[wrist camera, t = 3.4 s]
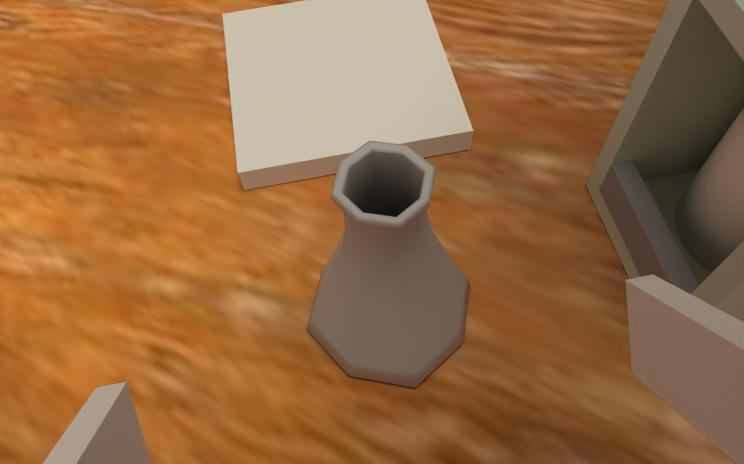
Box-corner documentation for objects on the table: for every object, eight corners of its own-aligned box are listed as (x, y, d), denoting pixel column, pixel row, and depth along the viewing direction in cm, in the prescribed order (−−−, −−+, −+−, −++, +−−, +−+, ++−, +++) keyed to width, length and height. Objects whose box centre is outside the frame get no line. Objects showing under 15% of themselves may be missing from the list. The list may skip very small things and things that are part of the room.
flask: (279, 339, 27) (221, 221, 18) (360, 217, 30) (343, 67, 21) (424, 419, 25) (436, 328, 16) (495, 279, 28) (537, 141, 19)
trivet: (418, 2, 38) (419, -18, 36) (470, 149, 32) (473, 130, 30) (228, 34, 37) (222, 14, 36) (244, 190, 31) (237, 172, 30)
